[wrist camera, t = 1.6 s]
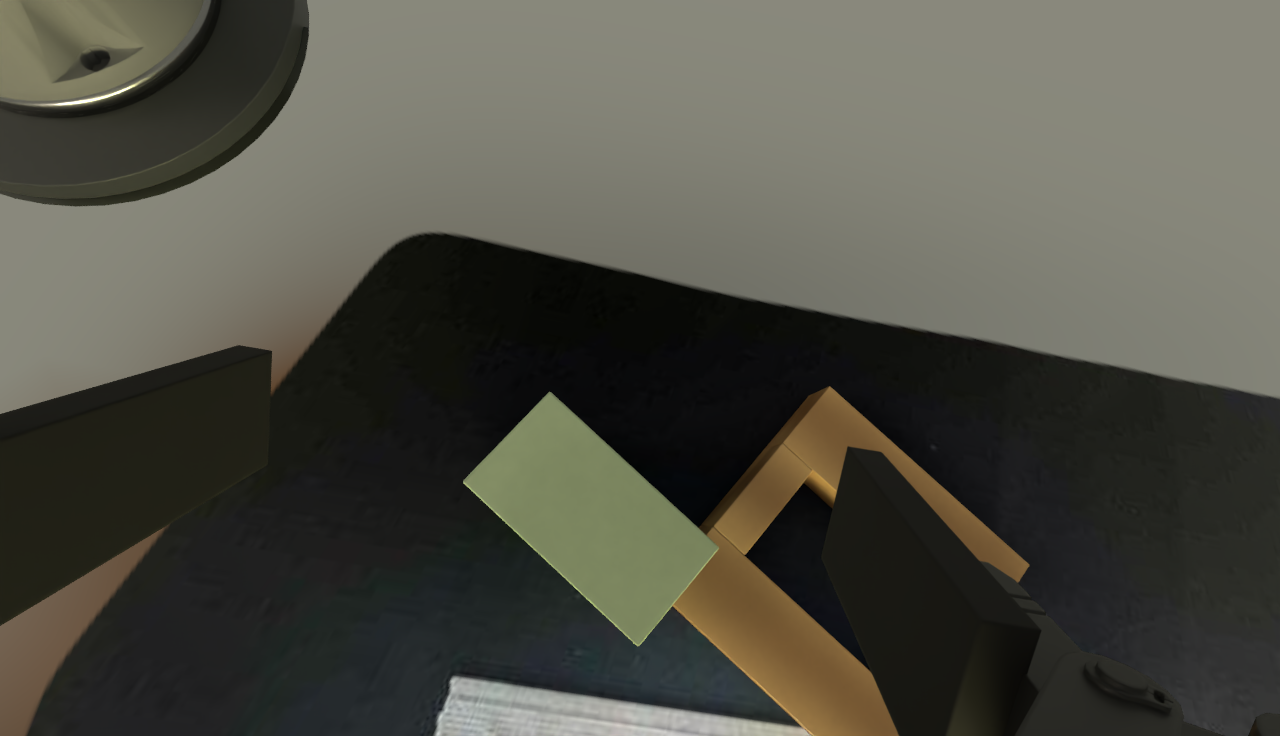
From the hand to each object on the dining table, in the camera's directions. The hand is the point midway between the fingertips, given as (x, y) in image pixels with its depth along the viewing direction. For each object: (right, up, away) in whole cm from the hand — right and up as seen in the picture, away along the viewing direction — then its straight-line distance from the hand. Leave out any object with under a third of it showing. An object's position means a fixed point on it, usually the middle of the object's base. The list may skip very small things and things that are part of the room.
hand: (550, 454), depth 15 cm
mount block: (+12, -9, +22) cm, 27 cm away
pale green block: (-1, -6, +21) cm, 21 cm away
